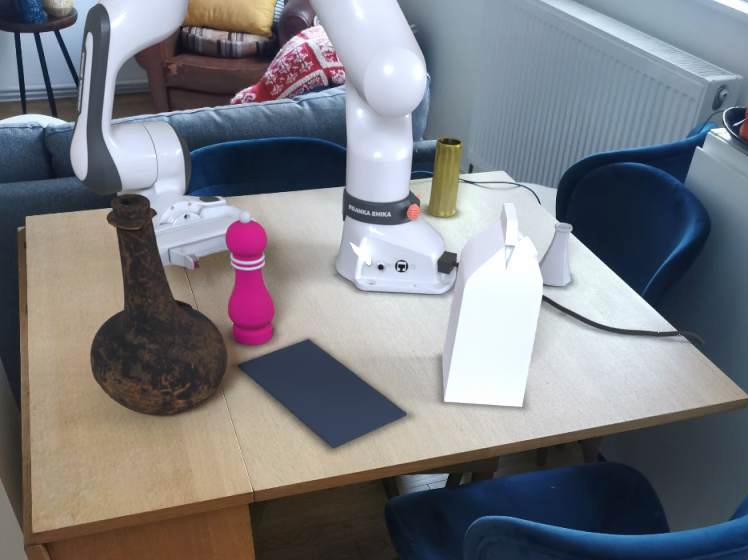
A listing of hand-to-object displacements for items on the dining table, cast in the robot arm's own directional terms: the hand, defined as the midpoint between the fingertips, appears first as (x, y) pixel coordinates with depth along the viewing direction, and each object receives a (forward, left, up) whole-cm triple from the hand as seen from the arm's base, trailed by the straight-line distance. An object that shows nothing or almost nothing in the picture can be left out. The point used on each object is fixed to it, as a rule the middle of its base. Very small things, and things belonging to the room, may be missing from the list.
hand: (222, 257), depth 118 cm
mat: (-20, +17, -10) cm, 28 cm away
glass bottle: (+1, +24, -10) cm, 26 cm away
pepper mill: (-6, +5, -10) cm, 13 cm away
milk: (-43, +8, -10) cm, 45 cm away
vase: (-29, -54, -10) cm, 62 cm away
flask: (-53, -30, -10) cm, 62 cm away
